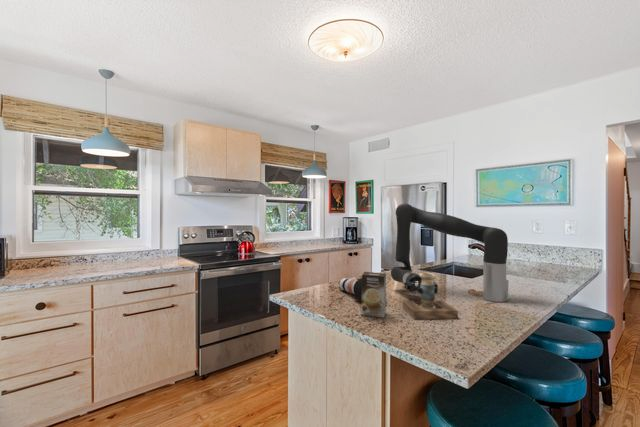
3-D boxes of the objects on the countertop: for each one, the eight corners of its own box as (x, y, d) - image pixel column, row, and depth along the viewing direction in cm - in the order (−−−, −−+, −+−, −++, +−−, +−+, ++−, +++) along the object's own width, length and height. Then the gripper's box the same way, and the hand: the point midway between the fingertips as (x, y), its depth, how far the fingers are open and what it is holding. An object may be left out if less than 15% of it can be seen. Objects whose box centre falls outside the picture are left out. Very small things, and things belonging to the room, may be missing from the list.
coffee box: (360, 315, 118) (360, 274, 118) (363, 310, 124) (363, 271, 124) (384, 317, 115) (384, 276, 115) (386, 312, 121) (386, 272, 121)
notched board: (441, 307, 128) (442, 300, 128) (457, 318, 115) (457, 310, 115) (402, 308, 126) (402, 301, 126) (414, 319, 114) (414, 311, 113)
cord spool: (431, 306, 125) (431, 272, 125) (438, 311, 119) (438, 275, 119) (416, 306, 125) (417, 272, 125) (423, 311, 119) (423, 276, 119)
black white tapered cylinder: (344, 295, 162) (350, 277, 164) (380, 307, 131) (387, 285, 133) (328, 288, 159) (335, 270, 161) (361, 298, 127) (369, 276, 130)
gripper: (398, 273, 137) (411, 282, 120) (428, 272, 138) (446, 281, 121) (398, 289, 137) (411, 300, 120) (428, 289, 138) (446, 300, 121)
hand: (429, 291), depth 120 cm, fingers closed on cord spool, 5 cm apart
